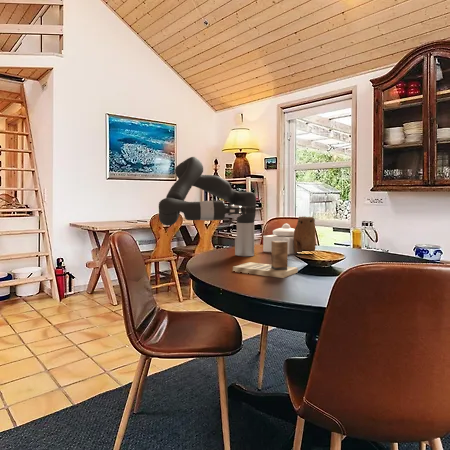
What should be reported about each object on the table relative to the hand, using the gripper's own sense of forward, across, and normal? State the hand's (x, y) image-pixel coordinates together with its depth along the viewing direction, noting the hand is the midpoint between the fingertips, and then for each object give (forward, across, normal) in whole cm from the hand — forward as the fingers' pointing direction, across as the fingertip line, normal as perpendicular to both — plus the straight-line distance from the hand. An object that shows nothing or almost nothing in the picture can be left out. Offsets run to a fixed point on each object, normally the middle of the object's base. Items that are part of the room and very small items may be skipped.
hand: (252, 209), depth 150 cm
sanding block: (+11, 0, +24) cm, 26 cm away
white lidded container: (+33, +59, +28) cm, 73 cm away
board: (+6, +4, +26) cm, 27 cm away
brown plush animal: (+40, +46, +27) cm, 66 cm away
